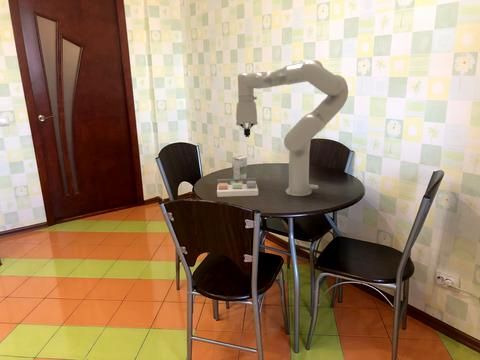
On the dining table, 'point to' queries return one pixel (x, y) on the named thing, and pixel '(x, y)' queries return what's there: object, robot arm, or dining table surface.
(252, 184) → the grey key
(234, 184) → the sage key
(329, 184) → the dining table surface
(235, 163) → the syrup box
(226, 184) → the terracotta key
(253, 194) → the keypad
